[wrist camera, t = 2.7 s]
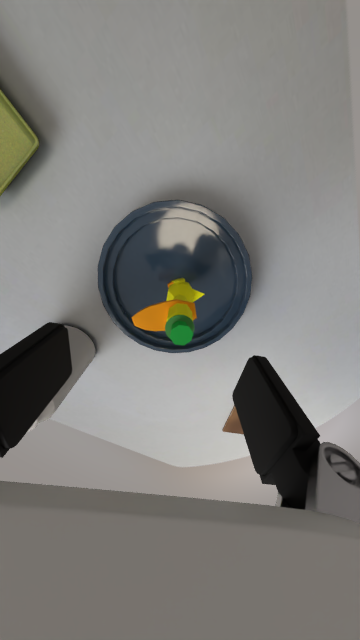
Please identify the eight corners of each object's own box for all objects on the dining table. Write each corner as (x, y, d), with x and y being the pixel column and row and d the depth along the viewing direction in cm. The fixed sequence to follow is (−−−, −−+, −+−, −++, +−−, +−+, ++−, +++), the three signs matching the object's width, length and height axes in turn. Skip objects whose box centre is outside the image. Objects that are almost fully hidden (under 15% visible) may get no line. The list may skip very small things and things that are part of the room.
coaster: (275, 409, 33) (276, 411, 33) (258, 434, 37) (259, 436, 36) (234, 403, 33) (235, 405, 32) (222, 429, 36) (222, 431, 36)
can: (87, 319, 25) (14, 382, 14) (104, 359, 28) (56, 436, 18) (39, 325, 26) (-64, 391, 15) (62, 364, 29) (-10, 441, 18)
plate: (269, 223, 19) (278, 222, 17) (221, 352, 27) (224, 361, 25) (105, 186, 18) (95, 180, 16) (105, 333, 26) (99, 341, 24)
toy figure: (153, 304, 23) (127, 364, 13) (146, 278, 22) (109, 321, 11) (202, 296, 23) (220, 352, 12) (199, 268, 21) (216, 304, 10)
